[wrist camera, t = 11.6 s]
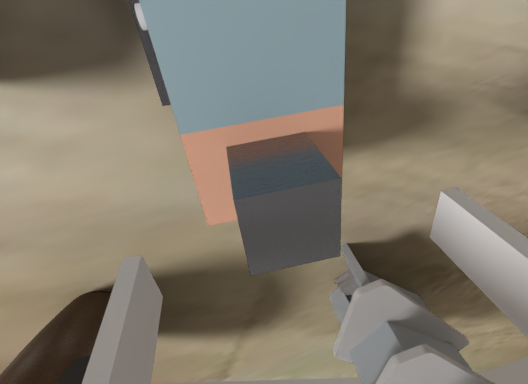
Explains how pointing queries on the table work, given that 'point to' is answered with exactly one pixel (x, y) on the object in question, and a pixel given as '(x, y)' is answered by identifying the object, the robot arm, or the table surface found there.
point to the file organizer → (394, 333)
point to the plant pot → (59, 342)
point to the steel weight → (285, 202)
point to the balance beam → (248, 79)
